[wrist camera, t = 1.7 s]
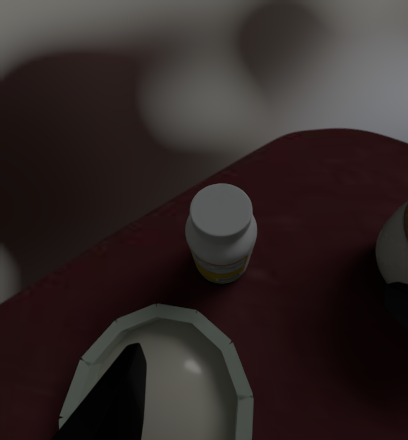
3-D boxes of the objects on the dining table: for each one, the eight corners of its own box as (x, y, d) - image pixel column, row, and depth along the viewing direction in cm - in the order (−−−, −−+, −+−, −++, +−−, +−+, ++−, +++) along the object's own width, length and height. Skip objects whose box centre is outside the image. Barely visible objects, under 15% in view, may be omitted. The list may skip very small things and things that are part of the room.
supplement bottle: (213, 225, 24) (208, 163, 16) (257, 250, 22) (279, 195, 14) (184, 265, 22) (161, 219, 14) (230, 296, 20) (236, 265, 12)
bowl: (240, 557, 13) (244, 601, 11) (50, 495, 15) (20, 522, 13) (252, 322, 19) (256, 320, 17) (116, 299, 21) (104, 294, 19)
